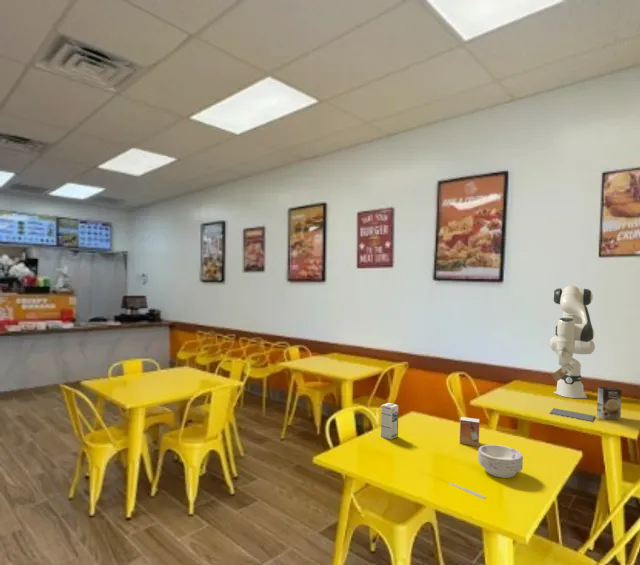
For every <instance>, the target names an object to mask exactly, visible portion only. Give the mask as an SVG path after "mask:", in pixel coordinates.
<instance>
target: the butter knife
mask: <svg viewBox="0 0 640 565" xmlns="http://www.w3.org/2000/svg"><path fill="white" fill-rule="evenodd" d="M448 485H451V486H453V487H456V488H458V489H460V490H463V491H464V492H467V493H469V494H470V495H474V496H475V497H478V498H480V499H483V500H484V499H486V496H485V495H482V494H481V493H479V492H476V491H473V490H471V489H468V488H465V487H462V486H459V485H458V484H455V483H451V482H449V483H448Z"/></svg>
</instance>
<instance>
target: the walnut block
mask: <svg viewBox="0 0 640 565" xmlns="http://www.w3.org/2000/svg"><path fill="white" fill-rule="evenodd" d="M573 369H574V368H573V367H572V366H571V365H570V364H569V363H568V364H567V365H566V372H565V373H564V372H562V368H561V367H560V368H559V369H558V370H556V371H554V372H553V373H552V374H551V375H550V376H551V378H553V380H555V382H558V381H559V380H560V378H562V377H563V376H564V375H566V374H567V373H569V372H570V371H571V370H573Z"/></svg>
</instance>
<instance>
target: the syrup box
mask: <svg viewBox="0 0 640 565" xmlns="http://www.w3.org/2000/svg"><path fill="white" fill-rule="evenodd" d="M380 408H381V409H380V437H382V438H385V439H387V440H393V439H394V438H398V436H399V405H398V404H395V403H391V402H387V403H384V404H381V405H380Z"/></svg>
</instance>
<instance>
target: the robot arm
mask: <svg viewBox="0 0 640 565" xmlns="http://www.w3.org/2000/svg"><path fill="white" fill-rule="evenodd" d="M552 299H553V302H554V304H556V305H559V306H560V308H561V310H562V317H560V318H558V322H557V325H556V326H555V335H553V336H552V337H550V339H549V343H548V344H549V348H550V349H551V350H552V351H554V352H555V353H556V355H557V356H558V365H559V366H560V368H562V372H564V373H565V372H566V365H567V364H568V363H569V364H570V365H571V366H572V367H573V368H574V369H573V370H571V371H570V372H569V373H567V374H566V375H564V376H563V377H562V378H560V379H559V380H557V381H556V382H557V383H556V390H555V391H553V393H554V394H556V395H559V396H560V397H561V396H562V397H564V398H570V399H571V398H572V399H588V397H587V396H588V395H587V394H586V392H585V389H584V384H583V383H582V375H581V374H582V373H581V372H582V371H581V369H582V368H581V367H582V365H581V362H579V360H577V359H576V358H574V357H573V356H574V355H573V354H575V355H591V354H592V353H593V352H595V349H596V345H595V342H594V341H593V340H594V337H595V331H594V328H593V325H592V321H591V317H590V312H589V310H588V307H587V306H589V305H590V304H591V303H592V302H593V299H594V296H593V293H592V291H591V290H590V289H588V288H579V287H578V286H575V285H567V286H565V287H564V288H556V289H555V290H554V291H553V293H552Z"/></svg>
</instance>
